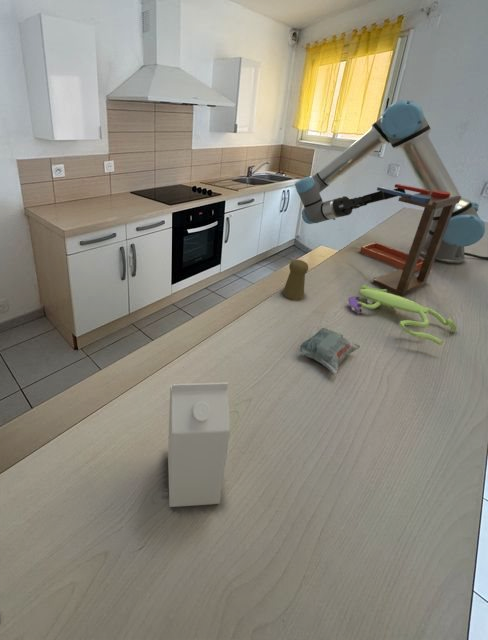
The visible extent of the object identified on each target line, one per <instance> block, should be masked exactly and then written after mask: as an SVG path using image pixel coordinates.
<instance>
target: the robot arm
mask: <svg viewBox="0 0 488 640" xmlns="http://www.w3.org/2000/svg"><path fill="white" fill-rule="evenodd" d="M431 130H432V128H431V126H430V125H429V122H428V120H427V118H426V117H425V114H424V110H423V108H422V106H421V105H420V104H418V103H417V102H415V101H413V100H411V99H403V100H398V101H395V102H394V103H391V105H389V106H387V107H386V108H385V109H384V111H383V112H382V114H381V116H380V118H378V119H377V120H376V121H375V122H374V123H373V124H371V126H370V129H369V130H368V131H367V132H366V133H365V134H363V135H362V136H360V137H359V138H358V139H357V140H356V141H354V142H353V143H352V144H351V145H349V146H348V147H347V148H346V149H345V150H343V151H342V152H341V153H340V154H339V155H337V156H336V157H335V158H333V159H332V160H331V161H330V162H328V163H327V164H326V165H325V166H324V167H322V168H321V169H320V170H319V171H317V172H316V173H315V174H314V175H312V176H310V175H309V176H306V177H303V178H301V179H299V180H298V181H296V182H295V183H294V186H295V190H296V192H297V194H298V197H299V199H300V200H301V203H302V205H303V207H304V208H303V209H302V211H301V218H302V220H303V222H304V223H306V224H308V225H314V224H320V223H322V222H326V221H330V220H333V221H336V219H338V218H342V217H343V218H344V217H347V216H350V215H351V214H352V213H353V210H356V209H360V207H361V208H362V207H364V206H367V205H368V204H373V203H377V202H381V201H384V200H386V201H387V200H388V199H393V198H396V197H398V196H397V195H393V194H389V193H386V192H382V191H378V190H377V191H375V192H372V193H368V194H365V195H362V196H358V197H353V198H349V197H348V196H346V195H343V196H339V197H336V198H333V199H329V200H326V201H323V198H322V196H321V192H323V191H324V190H325V189H326V188H328V187H329V186H330V185H332V184H333V183H334V182H335V181H337V180H338V179H340V178H341V177H342V176H343V175H345V174H346V173H347V172H349V171H350V170H351V169H353V168H355V166H356V165H358V164H359V163H360V162H362V161H363V160H365V159H366V158H367V157H369V156H370V155H371V154H372V153H373V152H375V151H377V150H378V149H379V148H381V147H382V146H383V145H385V144H390V146H391V148H392V149H395V150H399V151H400V153H401V154H402V156H403V158H404V160H405V162H406V163H407V165H408V167H409V169H410V171H411V173H412V174H413V176H414V179H415V180H416V182H417V183H418V186H419V188H420V189H425V190H429V191H431V192H430V193H431V194H432V191H433V190H438V191H445V192H449V193H450V196H449V197H454V196H461V199H460V201H459V203H457V204H456V205H455V208H454V210H453V213H452V216H451V218H450V221H449V223H448V226H447V229H446V231H445V234H444V236H443V239H442V242H441V244H440V247H439V250H438V252H437V255H436V257H435V260H434V262H435V261H436V262H439V263H444V264H448V265H449V264H451V265H458V264H459V265H460V264H462V263H463V261H464V260H465V256H467V257H473V258H476V259H480V260H488V256H482V255H478V254H474V253H470V252H465V247H469V246H472V245H475V244H477V243H478V242H480V240H482V238H483V237H484V236H485V232H486V225H485V222H484V220H483V219H481V218H480V216H479V214H478V211H479V206H480V204H479V203H478V202H476V201H475V202H474V201H471V200H470V199H468V198H464V197H462V195H461V193H460V192H459V190H458V188H457V185H456V184H455V182H454V180H453V179H452V177H451V175H450V174H449V171H448V170H447V168H446V166H445V164H444V162H443V161H442V159H441V157H440V155H439V153H438V151H437V150H436V147H435V146H434V144H433V142H432V140H431V138H430V137H429V136H430V135H429V134H430V132H431ZM392 190H395V191H399V192H403V193H406V190H405V189H400V188H393V189H392ZM442 209H443V208H439V209H436V212H435V215H434V218H433V220H432V223H431V226H430V229H429V231H428V234H427V237H426V240H425V242H424V245H423V248H422V251H421V253H420V256H423V257H424V258H425V255H426V253H427V250H428V247H429V245H430V242H431V239H432V236H433V234H434V231H435V228H436V226H437V223H438V220H439V217H440V215H441V212H442Z"/></svg>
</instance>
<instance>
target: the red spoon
mask: <svg viewBox="0 0 488 640" xmlns="http://www.w3.org/2000/svg"><path fill="white" fill-rule="evenodd" d="M394 188H395V189H397V188H400V189H405V191H410V192H415V193H423V194H430V192H431V191H429V190H425V189H421V187H415V186H411V185H406V184H405V185H404V184H400V183H395V184H394ZM431 196H433V197H437V198H444V199H446V198H449V196H450V193H449V192H445V191H438V190H433V191H432V194H431Z"/></svg>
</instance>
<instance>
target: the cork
mask: <svg viewBox="0 0 488 640" xmlns="http://www.w3.org/2000/svg"><path fill="white" fill-rule="evenodd" d="M288 268H289V274H288V277H287V279H286V283H285V285H284V288H283V291H282V295H283V296H284V297H286V298H287V299H288V300H292V301H301V300H303V299H304V298H305V283H306V282H305V279H306V274H307V273H308V272H309V265H308V263H307V262H306V261H304V260H302V259H293V260H291V261H290V263H289V267H288Z"/></svg>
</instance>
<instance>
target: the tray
mask: <svg viewBox="0 0 488 640" xmlns="http://www.w3.org/2000/svg"><path fill="white" fill-rule="evenodd" d="M359 254H362V255H365V256H366V257H369V258H371V259H374V260H377V261H378V262H382V263H383V264H384V263H385V264H386V265H389V266H392V267H393V268H397V269H401V270H403V269H404V266H405V263H406V260H407V257H408V255H409V253H406V252H404V251H401V250H398V249H395V248H392V247H389V246H387V245H385V244H382V243H379V242H372V243H369V244H366V245H363V246H361V247H360V250H359ZM423 261H424V258H420V257H419V259H418V262H417V264H416V267H415V270H414V273H415V272H417V271H420V269H421V266H422V264H423Z"/></svg>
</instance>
